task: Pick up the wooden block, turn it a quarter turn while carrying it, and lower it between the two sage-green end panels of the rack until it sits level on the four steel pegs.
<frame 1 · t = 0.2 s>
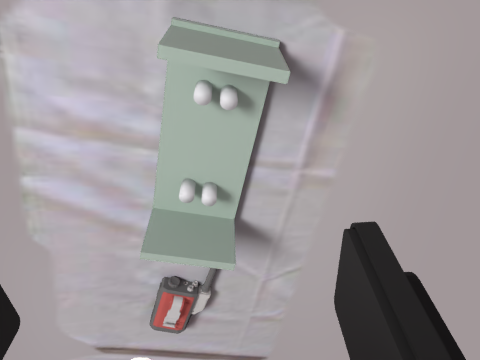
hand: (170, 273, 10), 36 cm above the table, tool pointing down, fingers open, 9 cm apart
shelf rack: (207, 137, 48), on the table
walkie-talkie: (184, 287, 65), on the table
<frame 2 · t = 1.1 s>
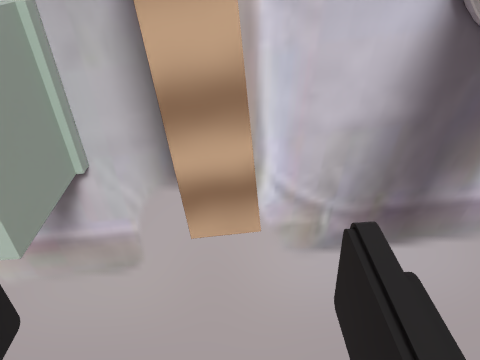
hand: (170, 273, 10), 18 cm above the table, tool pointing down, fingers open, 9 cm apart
wooden block: (207, 71, 25), on the table
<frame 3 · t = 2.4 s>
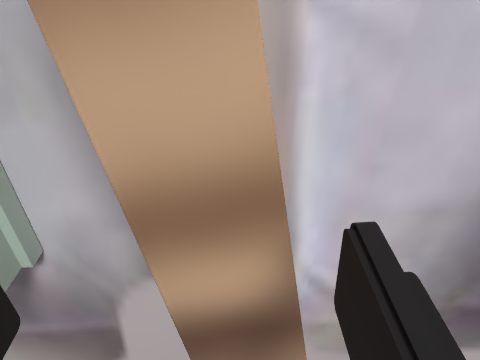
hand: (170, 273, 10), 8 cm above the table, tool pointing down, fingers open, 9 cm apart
wooden block: (215, 129, 16), on the table
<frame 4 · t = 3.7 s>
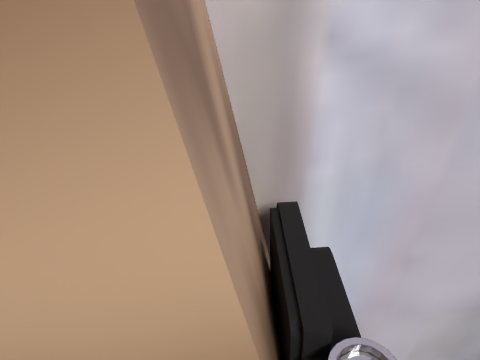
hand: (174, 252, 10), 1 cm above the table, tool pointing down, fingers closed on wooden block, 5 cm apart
wooden block: (178, 223, 11), on the table, touching gripper
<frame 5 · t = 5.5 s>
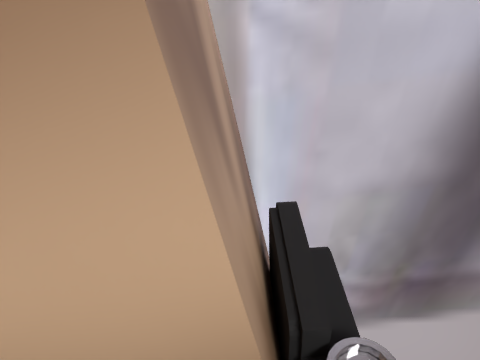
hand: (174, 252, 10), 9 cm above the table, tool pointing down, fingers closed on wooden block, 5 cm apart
wooden block: (178, 222, 11), point 8 cm above the table, touching gripper
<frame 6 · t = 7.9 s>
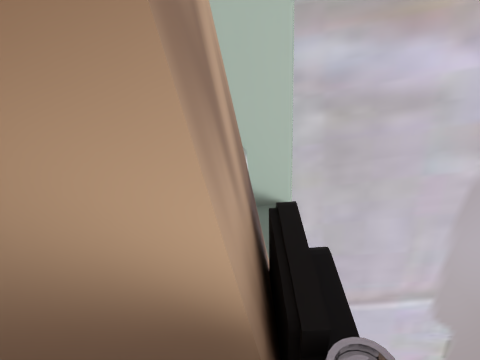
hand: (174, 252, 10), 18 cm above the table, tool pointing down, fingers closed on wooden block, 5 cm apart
wooden block: (178, 225, 11), point 17 cm above the table, touching gripper
shelf rack: (203, 59, 25), on the table
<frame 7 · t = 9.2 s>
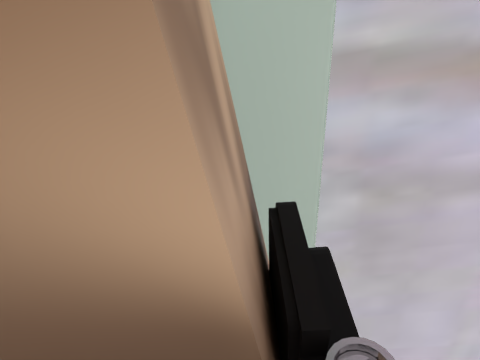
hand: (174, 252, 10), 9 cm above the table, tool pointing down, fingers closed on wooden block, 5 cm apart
wooden block: (178, 224, 11), point 7 cm above the table, touching gripper
shelf rack: (195, 126, 17), on the table
when the fingers open (5 cm above the table, at t = 10.6 s): wooden block stays where it is, resting on shelf rack.
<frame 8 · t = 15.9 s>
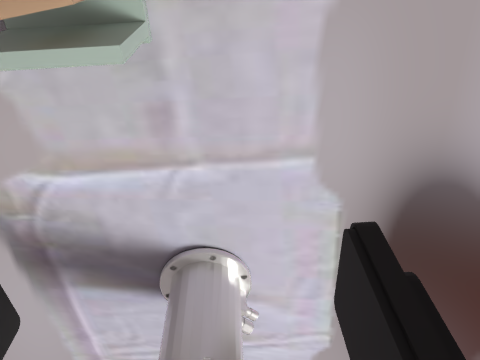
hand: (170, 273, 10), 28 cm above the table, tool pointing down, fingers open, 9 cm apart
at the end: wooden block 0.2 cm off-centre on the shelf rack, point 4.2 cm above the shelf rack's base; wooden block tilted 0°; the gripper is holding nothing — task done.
